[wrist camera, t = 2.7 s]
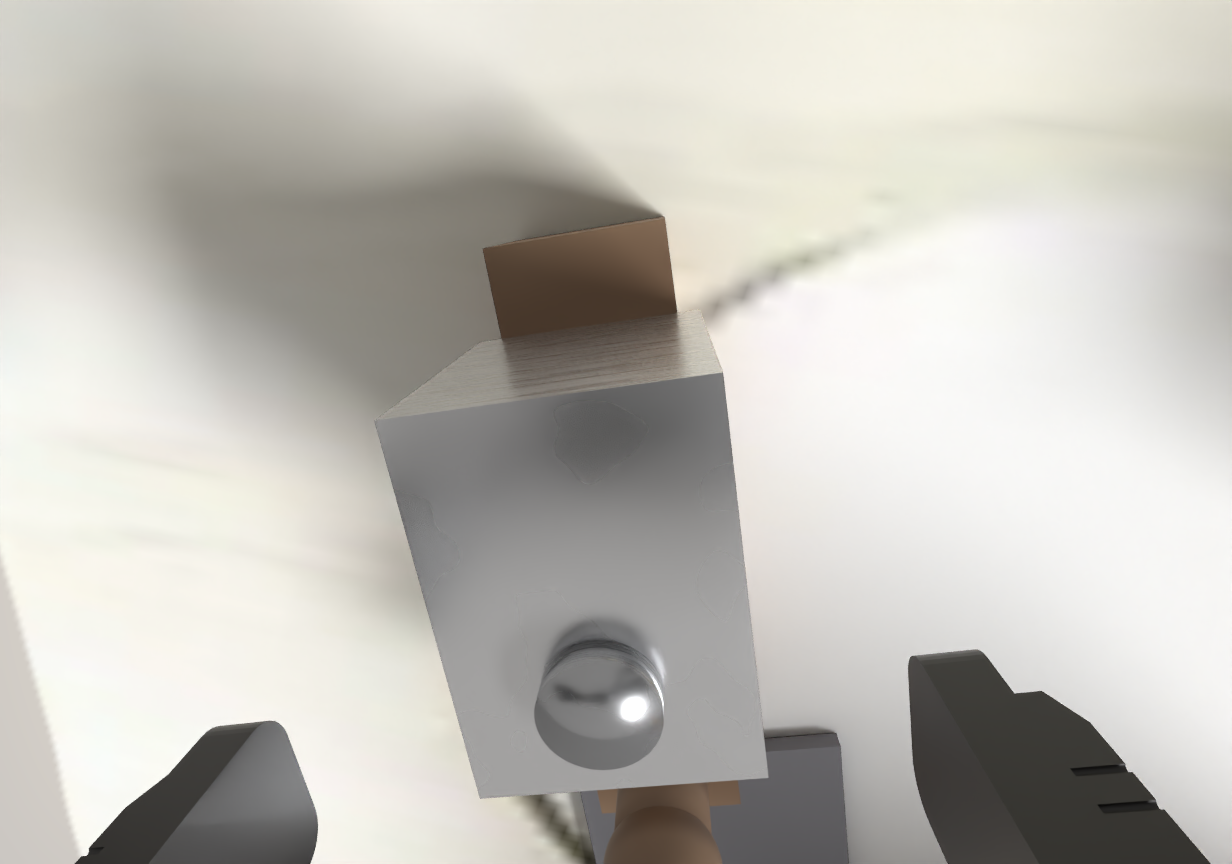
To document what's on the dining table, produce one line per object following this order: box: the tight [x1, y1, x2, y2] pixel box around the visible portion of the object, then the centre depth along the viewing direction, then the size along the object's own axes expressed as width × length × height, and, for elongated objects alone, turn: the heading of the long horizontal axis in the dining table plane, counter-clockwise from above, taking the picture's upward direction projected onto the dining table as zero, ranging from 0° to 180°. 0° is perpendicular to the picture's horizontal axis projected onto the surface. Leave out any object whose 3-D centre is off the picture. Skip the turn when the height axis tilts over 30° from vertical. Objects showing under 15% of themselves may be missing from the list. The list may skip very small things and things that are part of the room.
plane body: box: [483, 216, 741, 864], centre depth 17 cm, size 16×4×9 cm, turn 9°
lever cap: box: [374, 309, 769, 799], centre depth 13 cm, size 7×5×7 cm
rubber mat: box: [580, 733, 849, 864], centre depth 24 cm, size 7×9×1 cm
